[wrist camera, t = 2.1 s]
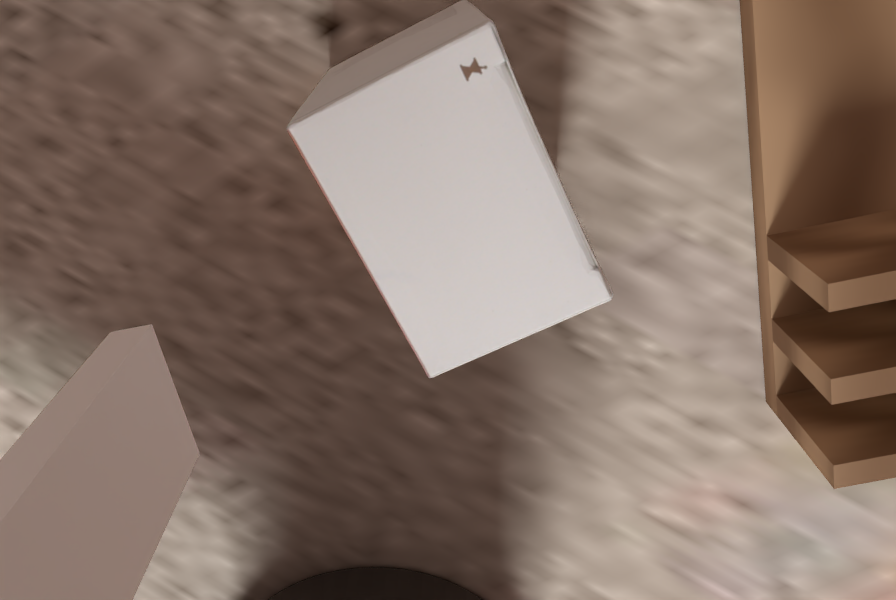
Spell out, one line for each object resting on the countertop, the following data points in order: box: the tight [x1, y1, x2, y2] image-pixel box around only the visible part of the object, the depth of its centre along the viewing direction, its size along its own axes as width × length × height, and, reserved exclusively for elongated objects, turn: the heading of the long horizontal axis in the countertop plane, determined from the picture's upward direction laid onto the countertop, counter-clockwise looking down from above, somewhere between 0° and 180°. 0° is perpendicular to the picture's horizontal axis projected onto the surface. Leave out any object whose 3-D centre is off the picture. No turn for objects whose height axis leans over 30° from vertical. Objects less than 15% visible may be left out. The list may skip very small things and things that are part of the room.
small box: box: [287, 0, 613, 378], centre depth 25 cm, size 8×6×10 cm
